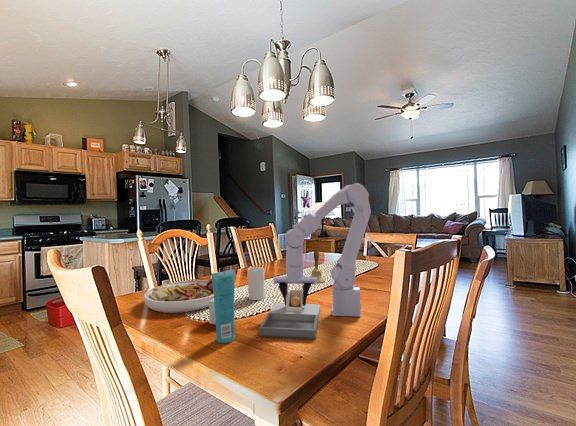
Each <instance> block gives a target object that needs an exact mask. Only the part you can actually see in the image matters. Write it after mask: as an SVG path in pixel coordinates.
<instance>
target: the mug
mask: <svg viewBox="0 0 576 426" xmlns="http://www.w3.org/2000/svg"><path fill="white" fill-rule="evenodd" d="M247 290H248V291H247V292H248V293H247V294H248V299H250V301H253V300H258V301H262V300H264V299H265V267H262V266H252V267H251V266H250V267H248V268H247ZM261 299H262V300H261Z"/></svg>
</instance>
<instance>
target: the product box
mask: <svg viewBox="0 0 576 426" xmlns="http://www.w3.org/2000/svg"><path fill="white" fill-rule="evenodd" d="M208 310H209V312H208V313H209V315H208V317H209V318H208V319H209V320H208V321H209V322H208V323H209V324H211V325H216V318H215V306H214V299H212V300H211V301H209V307H208ZM234 319H235V313H234Z"/></svg>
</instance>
